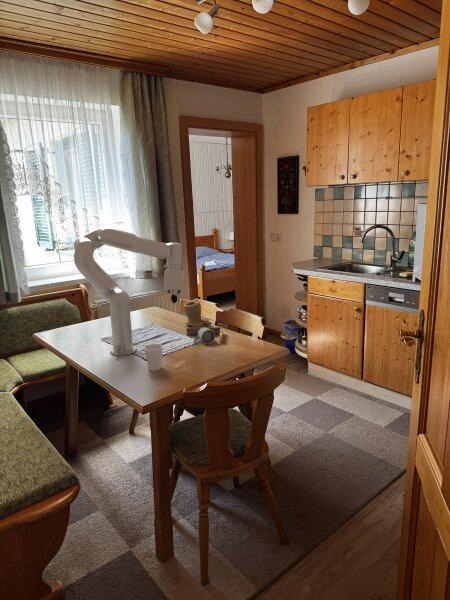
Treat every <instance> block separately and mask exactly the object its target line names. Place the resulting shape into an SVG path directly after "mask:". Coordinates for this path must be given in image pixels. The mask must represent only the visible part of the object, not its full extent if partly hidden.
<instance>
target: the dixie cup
mask: <svg viewBox="0 0 450 600" xmlns="http://www.w3.org/2000/svg"><path fill="white" fill-rule="evenodd" d="M163 348H164V345H162V344H160V343H149V344H147V345H145V346H144V347H143V350H144V353H145V359H146V362H147V368H148V370H149V371H154V372H155V371H159V370H161V369H162V363H163V361H162V360H163Z"/></svg>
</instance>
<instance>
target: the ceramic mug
mask: <svg viewBox="0 0 450 600" xmlns="http://www.w3.org/2000/svg"><path fill="white" fill-rule="evenodd" d="M215 339H216V337H215V333H214V332H213V331H212V330H210V329H208V328H201V329H200V330H199V331H198V337H194V339H193V341H192V342H193V343H194V344H195V345H198V344H201V343H203V344H204V345H210V344H213V342H214V341H215Z"/></svg>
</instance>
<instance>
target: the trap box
mask: <svg viewBox="0 0 450 600" xmlns="http://www.w3.org/2000/svg"><path fill="white" fill-rule="evenodd" d="M203 328H208V329H210V330H212V331H213V332H214V333H215V338H217V337H218V336H219V345H222V344H223V337H224V336H223V335H224V332H223V331H224V327H223V326H221V327H219V326H218V327H217V326H215V327H211V326H208V327H203ZM200 329H201V328H199V327H186V336H189V338H196V337H198V331H199V330H200Z"/></svg>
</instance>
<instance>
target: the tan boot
mask: <svg viewBox="0 0 450 600" xmlns="http://www.w3.org/2000/svg"><path fill="white" fill-rule="evenodd" d="M183 310H184V312H185V315H186V317H187V320H188V321H186V322H185V325H186V326H190V327H192V328H203V327H211V325H212V324H213V323H212V322H211V321H206V320H203V319H202V306H201V303H200V301H198V300H196V301H195V300H194V301H192V300H191V301H188V302H186V303H184V305H183Z"/></svg>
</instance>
